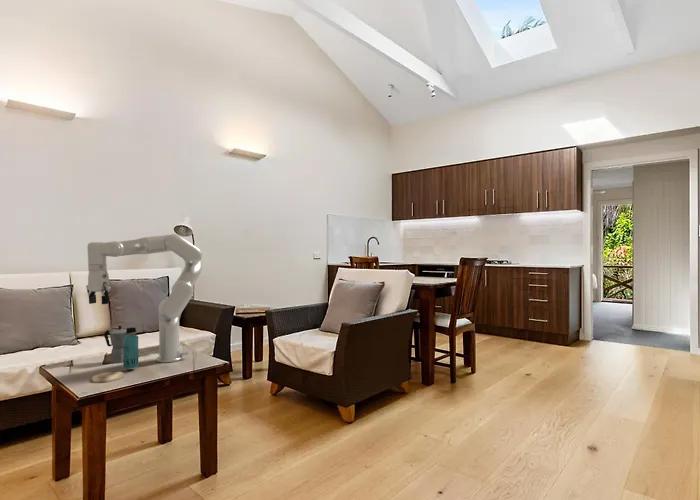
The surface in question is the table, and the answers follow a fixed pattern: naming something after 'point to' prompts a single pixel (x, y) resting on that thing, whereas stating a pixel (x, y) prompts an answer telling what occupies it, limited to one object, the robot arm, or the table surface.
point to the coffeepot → (116, 344)
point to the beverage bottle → (130, 349)
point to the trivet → (107, 377)
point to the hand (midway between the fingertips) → (99, 303)
